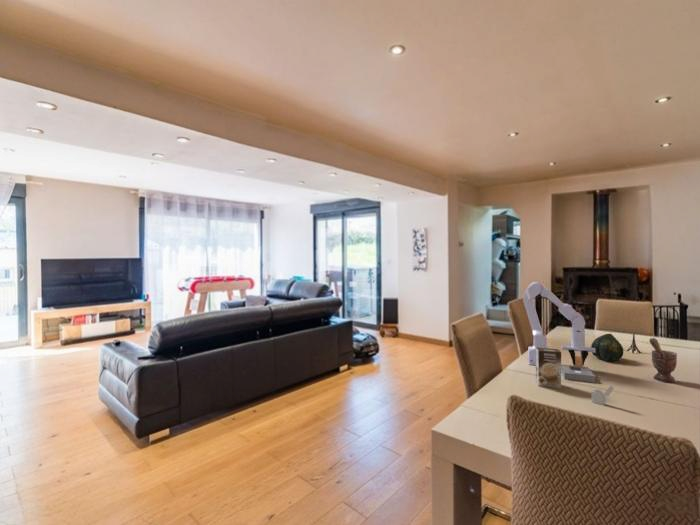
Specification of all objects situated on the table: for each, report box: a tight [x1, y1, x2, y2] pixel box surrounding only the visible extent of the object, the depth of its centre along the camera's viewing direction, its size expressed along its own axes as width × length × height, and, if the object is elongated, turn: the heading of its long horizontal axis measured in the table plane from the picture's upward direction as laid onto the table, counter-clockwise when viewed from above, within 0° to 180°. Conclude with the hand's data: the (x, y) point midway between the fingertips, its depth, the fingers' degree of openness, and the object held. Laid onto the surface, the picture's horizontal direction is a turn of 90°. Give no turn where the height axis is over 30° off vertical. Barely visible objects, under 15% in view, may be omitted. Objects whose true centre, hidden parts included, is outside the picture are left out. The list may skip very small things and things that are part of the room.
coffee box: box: [535, 347, 562, 389], centre depth 155 cm, size 9×6×16 cm
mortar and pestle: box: [648, 337, 678, 384], centre depth 158 cm, size 12×9×20 cm
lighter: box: [591, 384, 615, 406], centre depth 134 cm, size 7×2×8 cm, turn 43°
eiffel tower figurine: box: [626, 331, 642, 354], centre depth 206 cm, size 15×10×13 cm
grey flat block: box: [561, 363, 596, 383], centre depth 166 cm, size 12×14×3 cm
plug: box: [573, 355, 583, 367], centre depth 177 cm, size 3×4×6 cm
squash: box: [590, 333, 624, 362], centre depth 192 cm, size 14×15×15 cm
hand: (578, 365), depth 177 cm, fingers closed on plug, 3 cm apart
